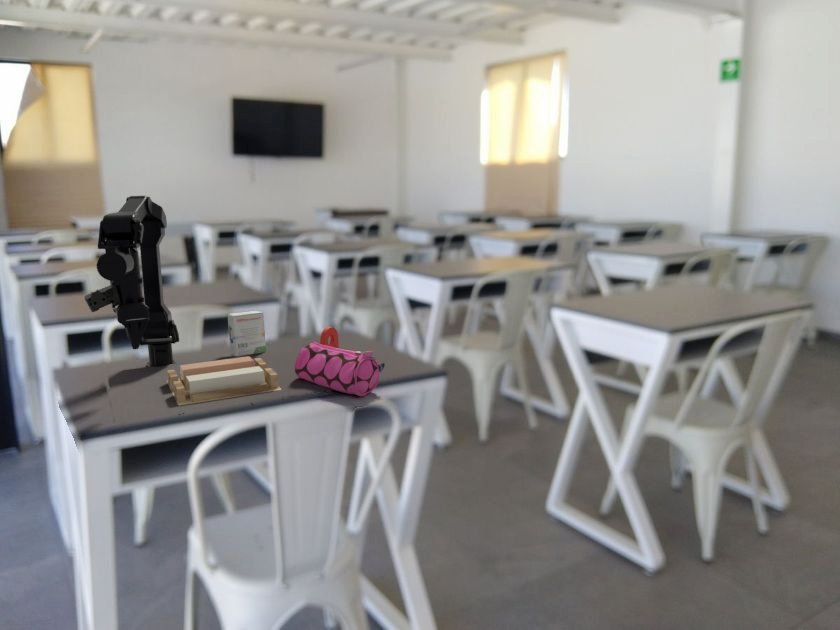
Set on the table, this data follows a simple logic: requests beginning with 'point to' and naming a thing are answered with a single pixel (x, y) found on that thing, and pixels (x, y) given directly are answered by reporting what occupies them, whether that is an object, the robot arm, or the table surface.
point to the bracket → (332, 333)
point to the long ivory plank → (224, 380)
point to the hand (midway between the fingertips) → (133, 344)
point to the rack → (183, 397)
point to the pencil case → (338, 368)
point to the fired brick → (215, 366)
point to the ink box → (246, 333)
